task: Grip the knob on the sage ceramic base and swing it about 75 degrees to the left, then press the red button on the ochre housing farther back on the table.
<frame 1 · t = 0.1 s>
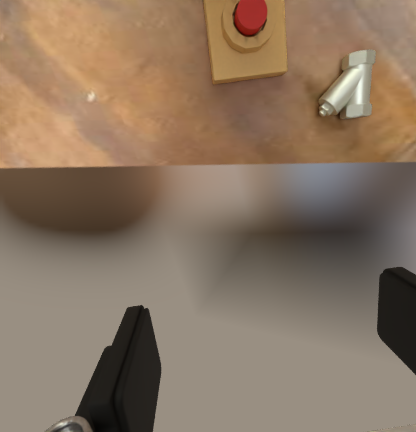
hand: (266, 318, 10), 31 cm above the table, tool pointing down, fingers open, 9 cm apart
button: (250, 15, 31), point 4 cm above the table, slide at 0.1 cm
button box: (243, 31, 35), on the table
pipe fitting: (336, 91, 38), on the table
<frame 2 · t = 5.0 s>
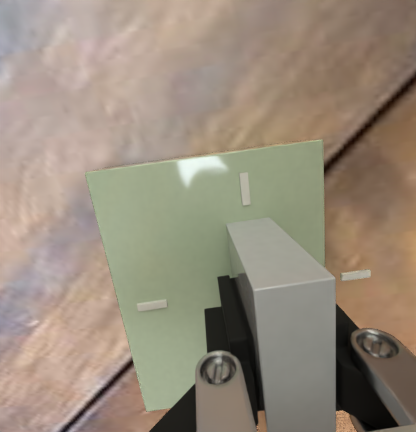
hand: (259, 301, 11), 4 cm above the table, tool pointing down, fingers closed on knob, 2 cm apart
dial base: (217, 265, 15), on the table
knob: (272, 331, 10), point 6 cm above the table, hinge at 0.0°, touching gripper
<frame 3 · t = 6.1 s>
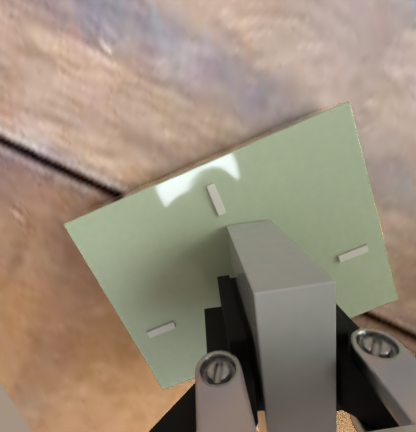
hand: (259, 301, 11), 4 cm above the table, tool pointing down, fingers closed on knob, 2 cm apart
dial base: (234, 242, 15), on the table
knob: (272, 333, 10), point 6 cm above the table, hinge at 74.9°, touching gripper
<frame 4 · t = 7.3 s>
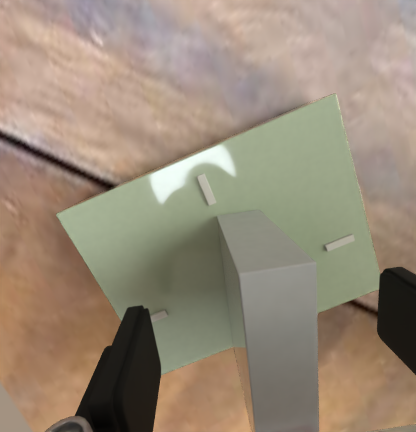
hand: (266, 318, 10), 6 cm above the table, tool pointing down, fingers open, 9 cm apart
dial base: (225, 233, 15), on the table
knob: (260, 318, 10), point 6 cm above the table, hinge at 74.8°
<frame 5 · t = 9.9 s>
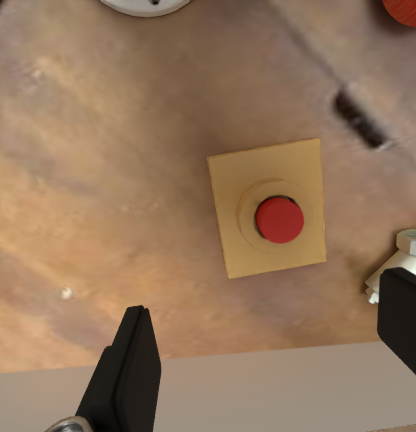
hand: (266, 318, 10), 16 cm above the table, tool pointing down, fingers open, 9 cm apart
button: (279, 220, 22), point 4 cm above the table, slide at 0.1 cm
button box: (265, 207, 26), on the table
pipe fitting: (387, 263, 29), on the table
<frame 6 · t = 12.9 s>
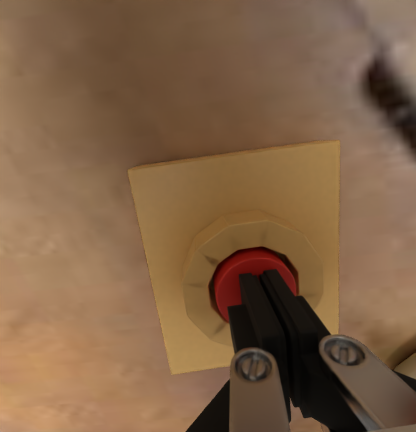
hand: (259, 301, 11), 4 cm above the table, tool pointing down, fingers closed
button: (252, 284, 12), point 4 cm above the table, slide at -0.8 cm, touching gripper
button box: (239, 254, 16), on the table
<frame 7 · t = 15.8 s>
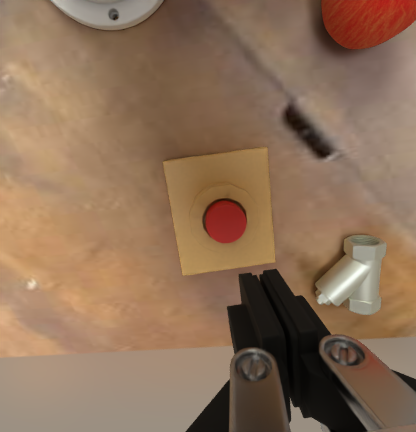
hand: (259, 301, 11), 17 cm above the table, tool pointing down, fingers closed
button: (225, 221, 24), point 4 cm above the table, slide at 0.1 cm
button box: (220, 210, 28), on the table
pipe fitting: (337, 266, 31), on the table
apple: (347, 11, 24), on the table
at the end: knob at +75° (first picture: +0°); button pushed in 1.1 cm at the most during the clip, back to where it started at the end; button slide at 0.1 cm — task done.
